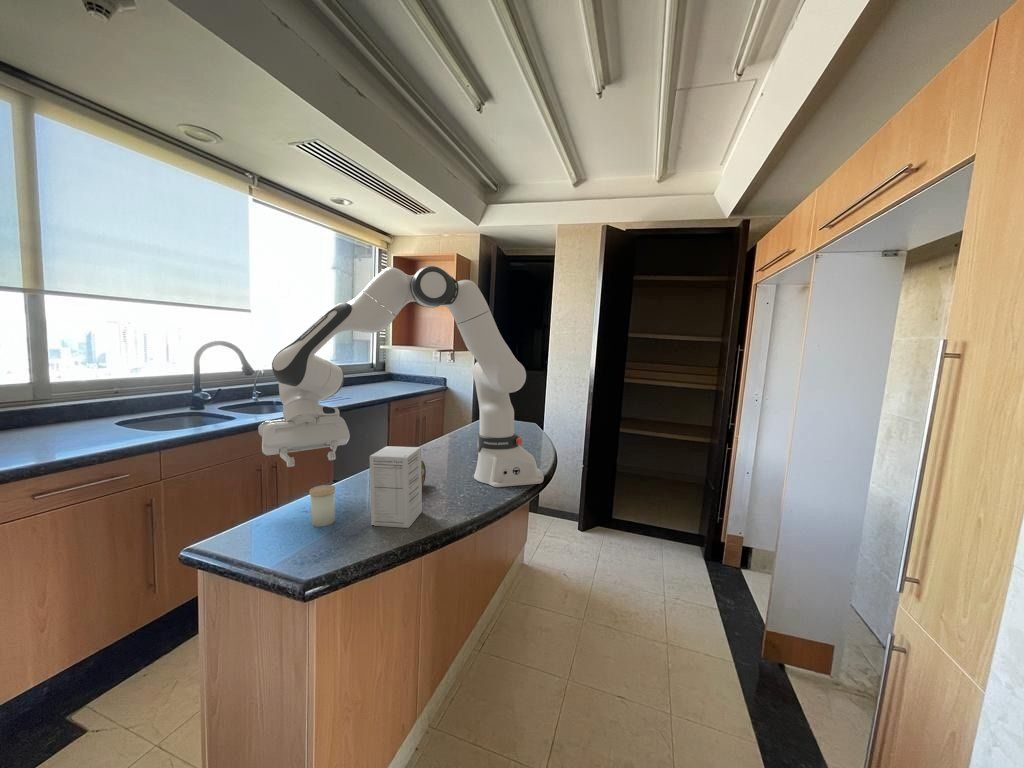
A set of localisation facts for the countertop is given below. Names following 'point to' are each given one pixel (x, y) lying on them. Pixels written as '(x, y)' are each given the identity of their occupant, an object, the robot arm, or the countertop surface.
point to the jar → (322, 505)
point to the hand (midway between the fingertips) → (312, 462)
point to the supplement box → (395, 486)
